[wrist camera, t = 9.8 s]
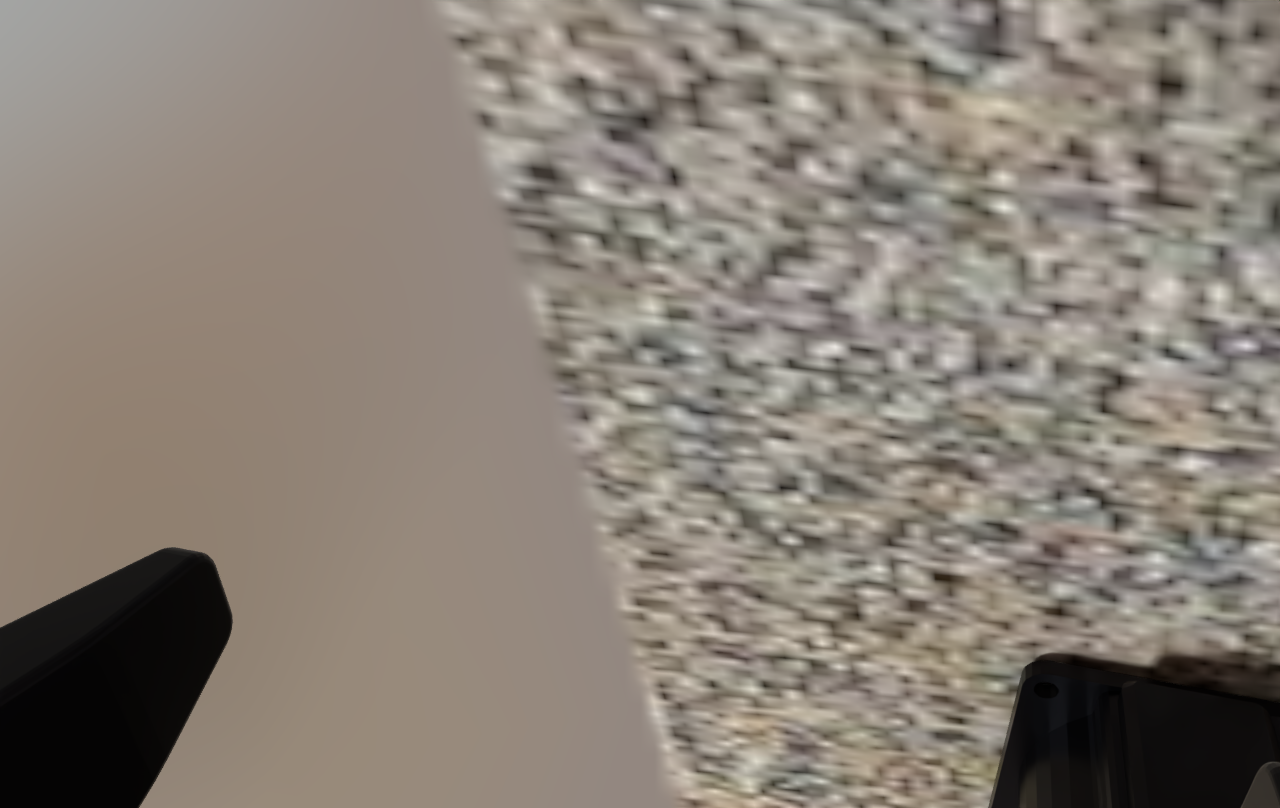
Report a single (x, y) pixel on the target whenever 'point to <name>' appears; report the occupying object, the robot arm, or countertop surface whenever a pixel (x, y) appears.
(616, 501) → the countertop surface
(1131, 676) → the robot arm
